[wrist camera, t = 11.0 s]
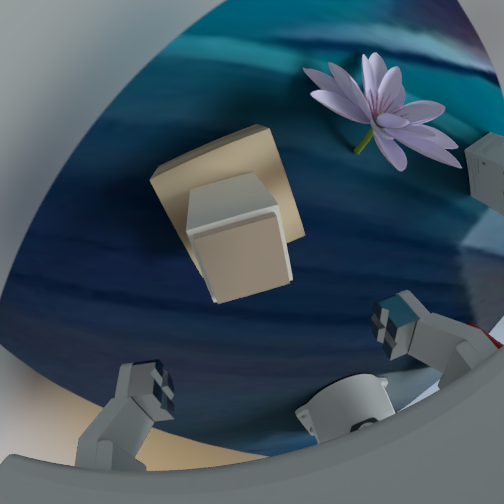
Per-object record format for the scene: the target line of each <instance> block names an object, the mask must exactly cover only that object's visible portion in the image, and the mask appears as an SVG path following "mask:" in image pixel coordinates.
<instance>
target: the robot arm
mask: <svg viewBox="0 0 504 504" xmlns="http://www.w3.org/2000/svg"><path fill="white" fill-rule="evenodd" d="M372 311H373V312H374V313H375V314H374V315H373V317H372V318H371V329H372V332H373V335H374V337H375V338H376V340H377V341H379V342H381V343H383V347H382V349H383V351H384V352H385V354H386V355H387V357H388V358H389V360H392V359H395V358H397V357H399V356H402V355H404V354H406V353H408V354H409V355H411V356H413V357H415V358H416V359H418V360H420V361H422V362H424V363H425V364H427V365H429V366H431V367H433V368H434V369H436V370H438V371H440V372H442V373H443V375H442V377H441V379H440V381H439V384H438V387H439V389H440V390H438V391H437V392H435V393H433V394H432V395H430V396H428V397H426V398H424V399H423V400H421V401H419V402H417V403H415V404H413V405H411V406H409V407H407V408H406V409H403V410H401V411H399V412H397V413H395V411H394V409H393V407H392V404H391V402H390V400H389V397H388V395H387V393H386V391H385V387H386V386H387V384H388V381H387V379H386V378H377V377H375V376H374V375H371V374H360V375H355V376H351V377H348V378H345V379H342V380H340V381H338V382H336V383H334V384H332V385H330V386H328V387H326V388H325V389H323V390H322V391H320V392H319V393H318V394H316V395H315V396H314V397H313V398H312V399H311V400H310V401H309V402H308V403H307V404H305V405H303V406H302V407H300V408H298V409H297V410H296V411H295V414H296V416H297V418H298V419H299V420H300V422H301V423H302V424H303V426H304V427H305V428H306V429H307V431H308V432H309V433H310V434H311V435H315V437H316V439H317V442H318V444H316V445H313V446H310V447H306V448H303V449H299V450H296V451H292V452H288V453H284V454H280V455H276V456H272V457H267V458H263V459H258V460H253V461H248V462H243V463H236V464H231V465H224V466H216V467H208V468H198V469H188V470H187V469H186V470H170V471H146V466H145V465H144V464H143V463H141V462H140V461H138V460H137V459H135V456H136V454H137V452H138V451H139V449H140V447H141V445H142V444H143V441H144V440H145V438H146V437H147V435H148V433H149V431H150V429H151V428H152V426H153V424H154V421H162V420H170V419H174V404H173V402H172V401H171V399H172V397H173V396H174V386H173V381H172V379H171V376H170V375H169V373H168V372H166V371H164V370H163V364H162V363H161V361H160V360H150V361H142V362H134V363H128V364H122V366H121V367H120V371H119V377H118V382H117V388H116V393H115V398H113V399H111V400H110V401H109V402H108V404H107V405H106V406H105V407H104V408H103V410H102V411H101V412H100V413H99V414H98V416H97V417H96V418H95V419H94V421H93V422H92V423H91V424H90V426H89V427H88V428H87V429H86V430H85V432H84V433H83V434H82V435H81V436H80V438H79V441H78V447H77V454H76V460H75V466H69V465H63V464H56V463H51V462H46V461H41V460H37V459H33V458H28V457H24V456H21V455H17V454H11V455H9V456H7V457H6V458H5V459H4V460H3V462H2V463H1V464H0V504H504V345H503V346H502V347H501V348H500V349H498V348H497V347H496V346H495V345H494V344H493V343H492V341H491V340H490V339H489V338H488V337H487V336H486V335H485V334H484V332H483V331H482V330H481V329H478V328H475V327H472V326H469V325H467V324H464V323H461V322H458V321H455V320H452V319H450V318H447V317H444V316H441V315H438V314H435V313H432V314H430V313H429V311H428V310H427V309H426V308H425V307H424V306H423V305H422V304H421V303H420V302H419V301H418V300H417V299H416V297H415V296H414V295H413V294H412V293H411V292H410V291H408V290H405V291H402V292H400V293H397V294H395V295H392V296H389V297H387V298H384V299H382V300H379V301H376V302H374V304H373V308H372Z"/></svg>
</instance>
